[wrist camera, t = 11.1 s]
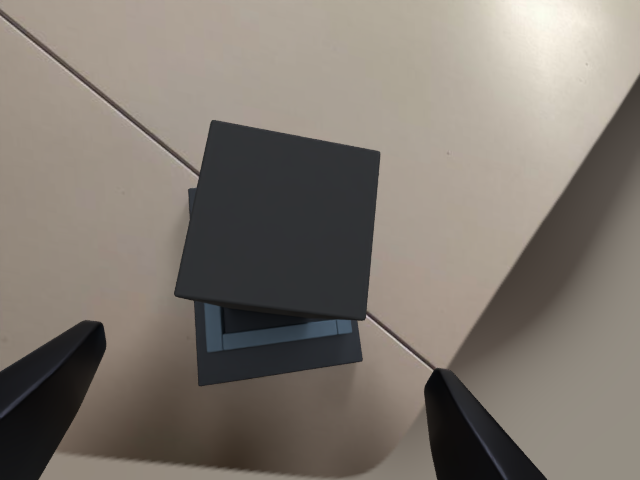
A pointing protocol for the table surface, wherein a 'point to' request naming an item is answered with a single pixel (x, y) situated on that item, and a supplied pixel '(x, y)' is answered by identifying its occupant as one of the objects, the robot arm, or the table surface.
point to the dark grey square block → (281, 225)
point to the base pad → (267, 341)
